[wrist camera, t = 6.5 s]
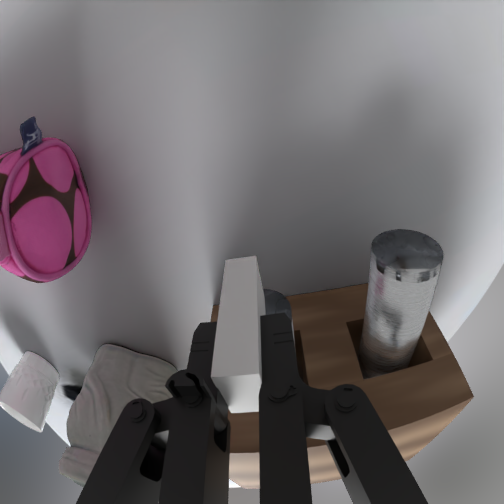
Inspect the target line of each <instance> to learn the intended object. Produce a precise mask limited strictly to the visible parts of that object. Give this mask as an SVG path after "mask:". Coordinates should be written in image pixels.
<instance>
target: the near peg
mask: <svg viewBox="0 0 504 504" xmlns="http://www.w3.org/2000/svg"><path fill="white" fill-rule="evenodd" d="M442 260H443V250H442V248H441V246H440V245H439V244H438V243H437V242H436V241H435V240H434V239H433V238H431V237H429V236H427V235H425V234H423V233H420V232H417V231H412V230H403V229H398V230H390V231H386V232H383V233H381V234H379V235H378V236H377V237H375V239H374V240H373V242H372V247H371V261H370V273H369V283H368V292H367V301H366V309H365V316H364V323H363V329H362V336H361V342H360V347H359V353H358V358H357V359H358V362H359V366H360V369H361V372H362V376H363V379H364V380H365V379H369V378H373V377H377V376H381V375H385V374H389V373H392V372H396V371H399V370H403V369H406V368H407V367H408V365H409V362H410V360H411V357H412V355H413V353H414V350H415V348H416V345H417V342H418V340H419V337H420V334H421V332H422V329H423V326H424V323H425V320H426V317H427V314H428V311H429V308H430V305H431V302H432V298H433V295H434V292H435V288H436V284H437V281H438V277H439V273H440V269H441V265H442Z"/></svg>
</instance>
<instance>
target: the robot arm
mask: <svg viewBox="0 0 504 504" xmlns="http://www.w3.org/2000/svg"><path fill="white" fill-rule="evenodd" d="M190 351H191V353H190V355H189V361H188V366H187V369H185V370H180V371H178V372H176V373H174V374H172V375H171V376H170V378H169V379H168V380H167V382H166V384H165V387H166V388H167V389H168V391H169V392H170V393H171V394H172V396H173V397H172V398H169V399H166V400H163V401H159V402H155V403H151V402H150V401H148V400H146V399H142V398H138V399H134V400H132V401H130V402H129V403H127V405H126V406H125V407H124V409H123V410H122V412H121V414H120V416H119V418H118V420H117V422H116V424H115V426H114V428H113V429H112V431H111V433H110V435H109V437H108V439H107V441H106V443H105V445H104V447H103V449H102V451H101V453H100V455H99V457H98V459H97V461H96V463H95V465H94V467H93V469H92V471H91V473H90V475H89V477H88V479H87V481H86V484H85V486H84V488H83V490H82V492H81V495H80V496H79V498H78V501H77V503H76V504H228V489H229V460H230V433H231V426H230V421H229V420H228V409H229V410H230V412H231V413H244V412H259V468H260V504H312V495H311V483H310V472H309V461H308V451H307V441H306V437H307V438H314V439H321V440H325V443H326V445H327V447H328V449H329V451H330V454H331V456H332V458H333V460H334V462H335V465H336V467H337V469H338V471H339V473H340V476H341V478H342V480H343V482H344V484H345V486H346V489H347V491H348V493H349V495H350V498H351V500H352V502H353V504H428V502H427V501H426V499H425V497H424V495H423V493H422V491H421V489H420V488H419V486H418V484H417V482H416V480H415V479H414V477H413V475H412V473H411V471H410V470H409V468H408V466H407V464H406V462H405V461H404V459H403V457H402V455H401V454H400V452H399V450H398V448H397V446H396V445H395V443H394V441H393V439H392V438H391V436H390V434H389V433H388V431H387V429H386V427H385V426H384V424H383V422H382V420H381V419H380V417H379V415H378V414H377V412H376V410H375V409H374V407H373V405H372V403H371V402H370V400H369V398H368V397H367V395H366V393H365V392H364V391H363V390H362V389H361V388H360V387H358V386H355V385H353V384H343V385H339V386H336V387H335V388H333V389H332V390H325V389H317V388H313V387H310V386H308V385H306V384H305V383H304V382H303V381H302V380H301V378H300V377H299V373H298V367H297V360H296V352H295V345H294V338H293V331H292V324H291V320H290V319H289V317H288V316H287V315H286V314H285V312H284V313H277V314H269V315H266V312H265V297H264V292H263V287H262V282H261V277H260V272H259V267H258V262H257V257H256V256H249V257H243V258H236V259H229V260H226V261H225V268H224V275H223V282H222V290H221V297H220V305H219V313H218V321H216V322H206V323H200V324H199V326H198V327H197V329H196V330H195V332H194V334H193V340H192V345H191V350H190ZM158 502H159V503H158Z"/></svg>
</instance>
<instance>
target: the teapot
mask: <svg viewBox="0 0 504 504" xmlns="http://www.w3.org/2000/svg"><path fill="white" fill-rule="evenodd" d="M176 372H177V370H176V368H175V367H174V366H173V365H171V364H170V363H168V362H166V361H164V360H162V359H159V358H156V357H152V356H149V355H144V354H140V353H136V352H134V351H131V350H129V349H126V348H123V347H120V346H116V345H112V344H104V345H102V346H101V347H100V348H99V349H98V350H97V352H96V354H95V357H94V360H93V364H92V365H91V367H90V368H89V370H88V372H87V374H86V376H85V379H84V383H83V387H82V390H81V392H80V394H79V395H78V396H77V398H76V399H75V401H74V403H73V405H72V406H71V409H70V411H69V416H68V419H67V436H68V440H69V442H70V444H71V447H67V448H66V450H65V452H64V453H63V455H62V458H61V459H60V460H59V473H60V474H62V475H64V476H66V477H68V478H70V479H72V480H73V481H74V482H75V483H77V484H78V485H80V486H82V487H83V488H84V486H85V484H86V481H87V479H88V477H89V475H90V473H91V471H92V469H93V467H94V465H95V463H96V461H97V459H98V457H99V455H100V453H101V451H102V449H103V447H104V445H105V443H106V441H107V439H108V437H109V435H110V433H111V431H112V429H113V428H114V426H115V424H116V422H117V420H118V418H119V416H120V414H121V412H122V410H123V409H124V407H125V406H126V405H127V403H129V402H130V401H132V400H134V399H138V398H142V399H146V400H148V401H150V402H151V403H155V402H159V401H163V400H166V399H169V398H172V397H173V396H172V394H171V393H170V392H169V391H168V389H167V388H166V387H165V384H166V382H167V380H168V379H169V378H170V376H171V375H172V374H174V373H176ZM158 503H159V502H158Z"/></svg>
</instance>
